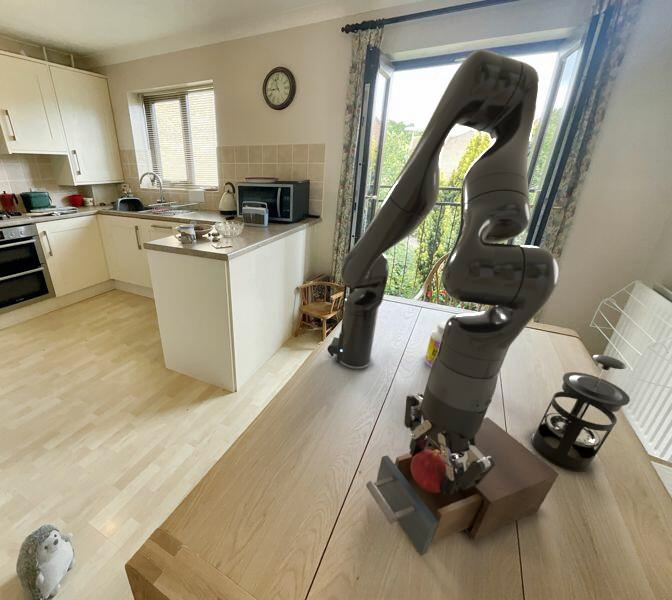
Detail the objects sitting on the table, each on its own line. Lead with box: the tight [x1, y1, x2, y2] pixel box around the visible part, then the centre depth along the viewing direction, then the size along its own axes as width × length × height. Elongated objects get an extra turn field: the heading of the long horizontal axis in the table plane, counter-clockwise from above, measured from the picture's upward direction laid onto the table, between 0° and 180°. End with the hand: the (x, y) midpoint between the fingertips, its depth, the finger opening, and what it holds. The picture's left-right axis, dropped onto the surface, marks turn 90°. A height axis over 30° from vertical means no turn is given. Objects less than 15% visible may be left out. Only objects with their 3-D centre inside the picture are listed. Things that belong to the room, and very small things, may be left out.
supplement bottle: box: [424, 321, 447, 367], centre depth 89 cm, size 7×7×13 cm
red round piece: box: [411, 449, 447, 493], centre depth 49 cm, size 6×6×8 cm
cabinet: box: [425, 416, 560, 541], centre depth 55 cm, size 15×13×10 cm
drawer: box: [365, 445, 484, 556], centre depth 51 cm, size 18×11×8 cm, turn 108°
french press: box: [530, 354, 631, 473], centre depth 60 cm, size 12×9×23 cm
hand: (430, 471), depth 49 cm, fingers closed on red round piece, 6 cm apart
